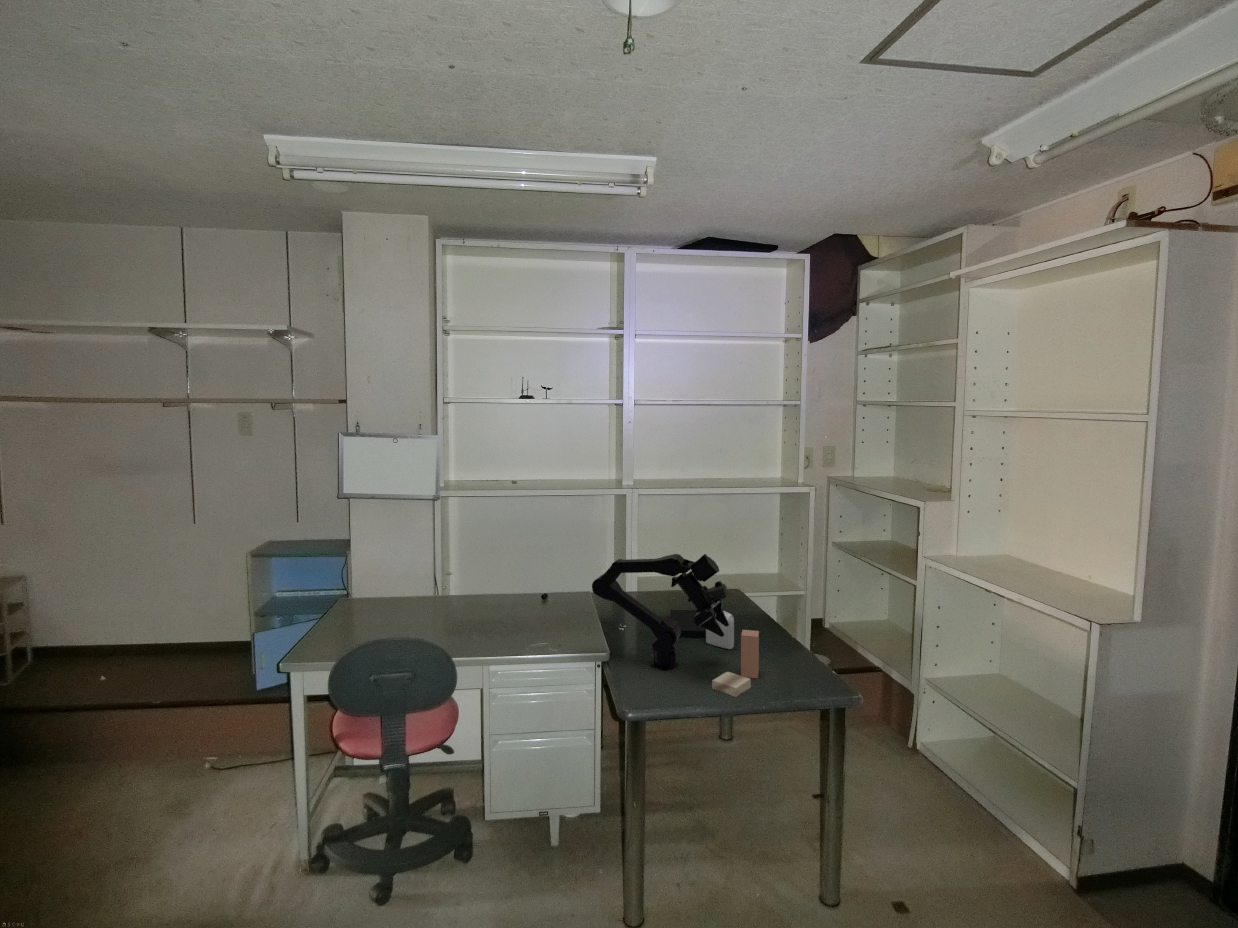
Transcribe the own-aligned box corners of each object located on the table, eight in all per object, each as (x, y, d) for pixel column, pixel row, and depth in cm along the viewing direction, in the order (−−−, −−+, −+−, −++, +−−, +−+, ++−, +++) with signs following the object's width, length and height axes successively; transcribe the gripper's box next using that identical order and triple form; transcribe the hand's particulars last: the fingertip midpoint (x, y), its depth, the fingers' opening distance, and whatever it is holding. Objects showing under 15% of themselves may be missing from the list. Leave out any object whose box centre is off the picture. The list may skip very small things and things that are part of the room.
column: (740, 676, 192) (741, 635, 191) (742, 669, 197) (742, 629, 196) (757, 678, 191) (758, 636, 190) (758, 671, 196) (758, 630, 195)
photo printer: (703, 643, 220) (704, 608, 219) (711, 639, 223) (711, 605, 222) (729, 650, 213) (729, 615, 212) (736, 647, 216) (736, 611, 215)
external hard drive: (669, 638, 226) (669, 630, 225) (670, 617, 249) (670, 609, 248) (709, 639, 224) (709, 631, 224) (706, 617, 247) (706, 610, 247)
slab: (712, 690, 184) (712, 680, 184) (727, 680, 190) (727, 671, 190) (736, 698, 179) (736, 688, 179) (750, 688, 185) (750, 678, 185)
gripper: (708, 583, 185) (742, 626, 183) (718, 567, 202) (749, 607, 200) (679, 604, 188) (712, 647, 186) (692, 587, 206) (722, 626, 204)
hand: (725, 630), depth 194 cm, fingers open, 9 cm apart
